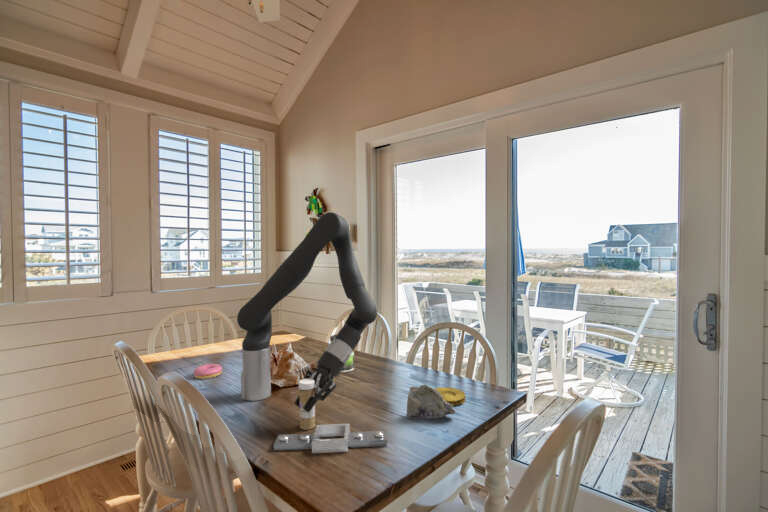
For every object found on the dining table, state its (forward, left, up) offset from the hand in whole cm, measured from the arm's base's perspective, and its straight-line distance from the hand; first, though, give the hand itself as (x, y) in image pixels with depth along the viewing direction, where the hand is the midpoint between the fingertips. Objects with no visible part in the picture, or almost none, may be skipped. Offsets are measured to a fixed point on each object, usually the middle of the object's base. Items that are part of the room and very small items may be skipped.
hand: (301, 407), depth 107 cm
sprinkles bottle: (+1, +1, -6) cm, 7 cm away
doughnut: (-49, +51, -6) cm, 71 cm away
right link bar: (+19, -9, -6) cm, 22 cm away
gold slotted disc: (+45, +17, -7) cm, 49 cm away
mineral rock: (+37, +4, -6) cm, 38 cm away
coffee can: (+7, +54, -6) cm, 55 cm away
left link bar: (0, -9, -6) cm, 11 cm away
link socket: (+9, -9, -6) cm, 14 cm away
